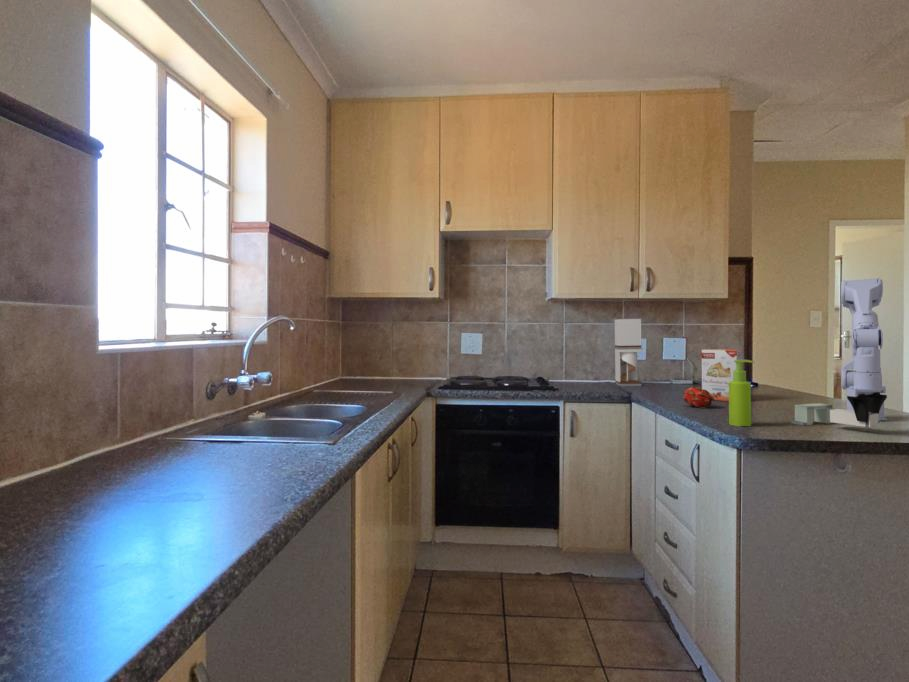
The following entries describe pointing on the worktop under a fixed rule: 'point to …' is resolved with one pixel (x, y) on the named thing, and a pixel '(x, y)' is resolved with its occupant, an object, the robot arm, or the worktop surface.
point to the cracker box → (719, 371)
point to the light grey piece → (627, 351)
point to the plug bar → (852, 418)
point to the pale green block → (806, 413)
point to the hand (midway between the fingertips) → (866, 420)
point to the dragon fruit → (697, 397)
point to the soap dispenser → (740, 397)
